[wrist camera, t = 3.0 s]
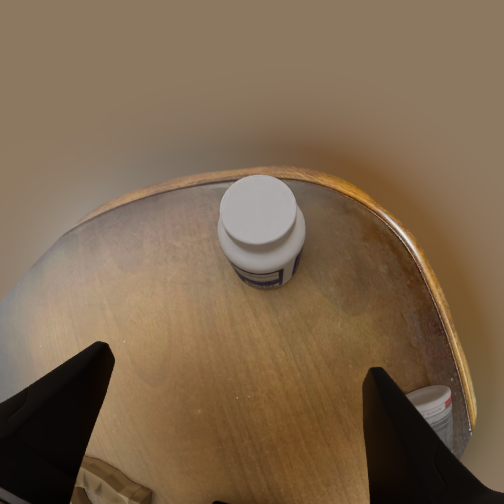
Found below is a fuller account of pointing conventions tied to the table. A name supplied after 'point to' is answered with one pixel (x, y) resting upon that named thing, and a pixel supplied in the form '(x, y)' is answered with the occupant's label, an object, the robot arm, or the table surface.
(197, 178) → the table surface
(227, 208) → the pill bottle
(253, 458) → the table surface
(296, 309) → the table surface
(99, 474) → the socket plate
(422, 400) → the pill bottle
